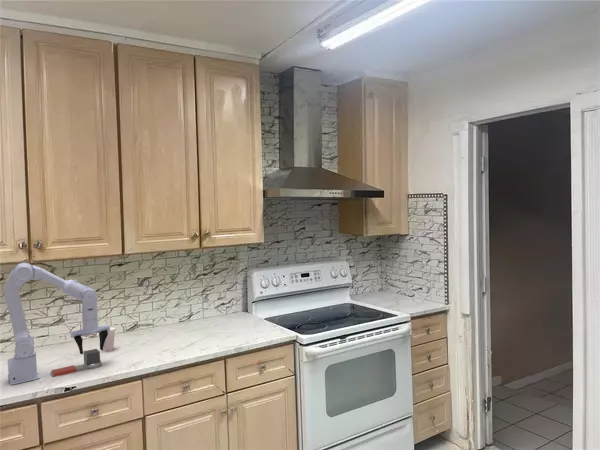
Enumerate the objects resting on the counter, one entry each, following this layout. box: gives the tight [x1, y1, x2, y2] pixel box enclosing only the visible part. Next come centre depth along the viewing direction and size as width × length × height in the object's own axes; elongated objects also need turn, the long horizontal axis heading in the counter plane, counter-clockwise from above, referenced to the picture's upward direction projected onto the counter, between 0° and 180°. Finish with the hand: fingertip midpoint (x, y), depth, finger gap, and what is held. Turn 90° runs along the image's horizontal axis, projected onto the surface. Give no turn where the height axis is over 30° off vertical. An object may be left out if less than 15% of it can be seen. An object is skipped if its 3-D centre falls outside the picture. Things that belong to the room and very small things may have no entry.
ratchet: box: [50, 359, 103, 378], centre depth 185 cm, size 18×6×4 cm, turn 127°
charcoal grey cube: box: [83, 348, 101, 365], centre depth 188 cm, size 5×5×4 cm
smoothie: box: [103, 319, 116, 353], centre depth 208 cm, size 6×6×14 cm
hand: (91, 351), depth 188 cm, fingers open, 7 cm apart
